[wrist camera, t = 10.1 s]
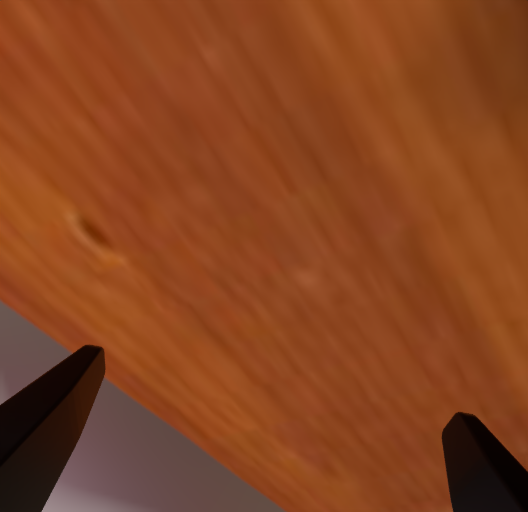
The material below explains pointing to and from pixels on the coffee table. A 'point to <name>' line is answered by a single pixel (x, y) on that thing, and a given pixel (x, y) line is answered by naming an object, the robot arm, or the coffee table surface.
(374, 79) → the coffee table surface
